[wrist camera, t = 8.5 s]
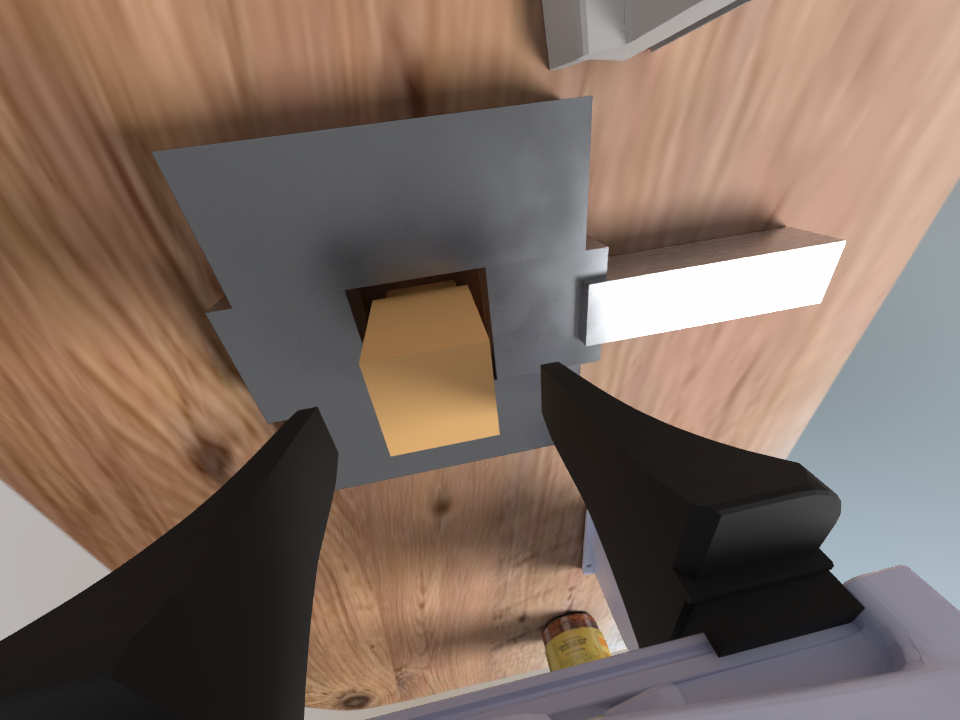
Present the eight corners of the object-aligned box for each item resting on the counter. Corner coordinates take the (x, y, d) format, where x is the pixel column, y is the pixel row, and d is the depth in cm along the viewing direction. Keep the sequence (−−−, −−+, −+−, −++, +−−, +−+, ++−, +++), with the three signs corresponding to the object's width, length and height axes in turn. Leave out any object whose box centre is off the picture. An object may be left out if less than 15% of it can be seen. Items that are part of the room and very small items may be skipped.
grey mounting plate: (737, 376, 24) (777, 405, 21) (318, 460, 22) (306, 503, 19) (840, 66, 15) (926, 52, 13) (163, 153, 13) (104, 156, 11)
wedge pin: (472, 343, 19) (499, 434, 13) (396, 357, 19) (390, 456, 13) (461, 270, 17) (489, 340, 11) (376, 284, 17) (358, 363, 11)
